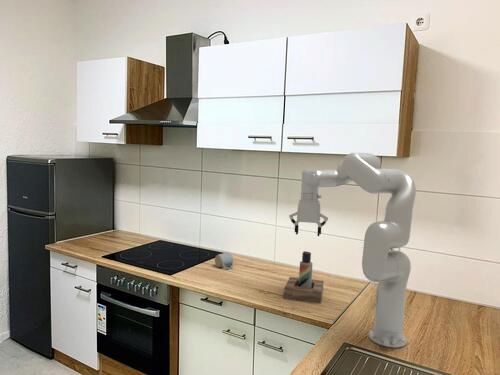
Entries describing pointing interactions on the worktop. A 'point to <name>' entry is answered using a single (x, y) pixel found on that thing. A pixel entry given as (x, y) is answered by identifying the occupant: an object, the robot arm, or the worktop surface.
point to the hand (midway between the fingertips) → (307, 234)
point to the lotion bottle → (305, 270)
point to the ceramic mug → (224, 260)
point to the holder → (303, 291)
